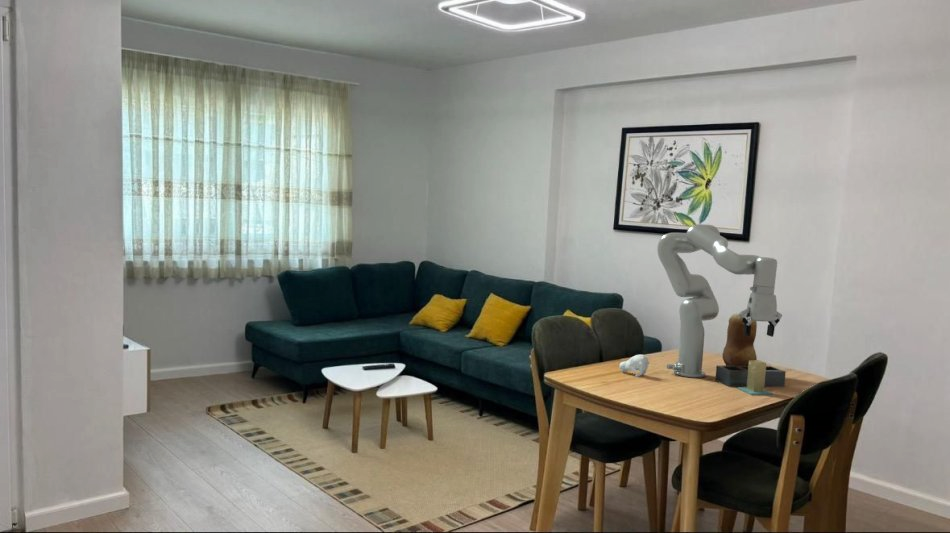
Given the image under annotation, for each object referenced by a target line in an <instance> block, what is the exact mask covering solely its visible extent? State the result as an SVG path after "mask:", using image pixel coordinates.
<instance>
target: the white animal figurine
mask: <svg viewBox="0 0 950 533" xmlns="http://www.w3.org/2000/svg"><path fill="white" fill-rule="evenodd" d="M649 364H650V362H649V358H648V357H647V356H646V355H644V354H635V355H634V356H632V357H631V358H629V359H627V360H625V361H621V362H620V363H619V369H620V371H621V372H622V373H623V374H624V373H627V372H628V371H631V373H634V374H635V373H636V374H635V378H638V377H641V376H644V375H646V373H647V370H648V368H649ZM637 371H639V372H637Z"/></svg>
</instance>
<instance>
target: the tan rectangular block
mask: <svg viewBox="0 0 950 533" xmlns="http://www.w3.org/2000/svg"><path fill="white" fill-rule="evenodd" d="M766 366H767V362H765V361H762V360H760V359H759V360H758V359H757V360H749V365H748V377H747V389H748V390H750V391H753V392H764V390H765V387H764V385H765V373H766Z"/></svg>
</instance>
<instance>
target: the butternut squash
mask: <svg viewBox="0 0 950 533" xmlns="http://www.w3.org/2000/svg"><path fill="white" fill-rule="evenodd" d="M745 318H747V317H746V314H745ZM757 322H758V321H754V320H753V322H752V323H751V324H750V326H751V332H750V336H747V335H744V324H743V322H742V321H741V318H740V315H739V313H737V312H736V313H733V314H732V315H730V317H729V318H728V326H727V330H726V331H727V332H726V333H727V334H726V343H725V346H724V347H723V351H722V360H723V362H724V365H725V366H748V365H749V360H758V359H757V358H758V357H757V353H756V350H755V346H754V345H755V344H754V343H755V340H756V336H757V328H758V324H757Z"/></svg>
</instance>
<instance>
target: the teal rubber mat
mask: <svg viewBox="0 0 950 533" xmlns="http://www.w3.org/2000/svg"><path fill="white" fill-rule="evenodd" d="M737 390H739V391H742V392H743V393H746V394H747V395H750V394H751V395H750V396H774V393H773V392H771V391H769V390H766V389H764V392H753V391H750V390H748V389H747V387H737Z"/></svg>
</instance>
